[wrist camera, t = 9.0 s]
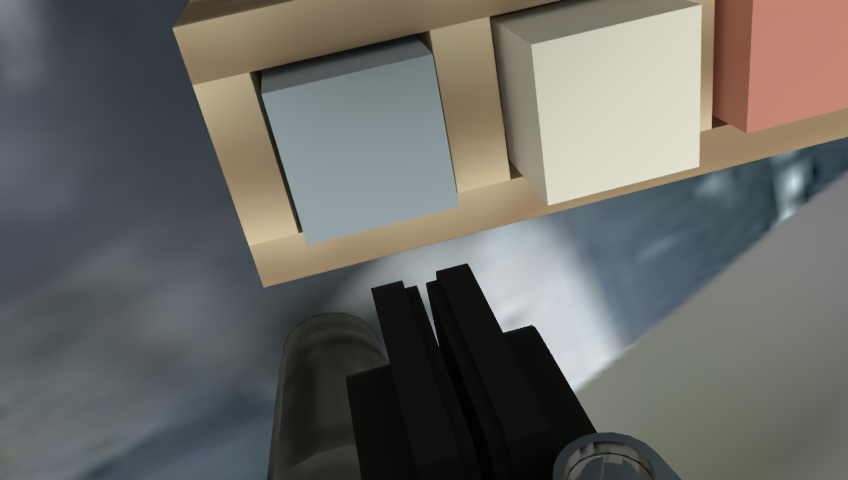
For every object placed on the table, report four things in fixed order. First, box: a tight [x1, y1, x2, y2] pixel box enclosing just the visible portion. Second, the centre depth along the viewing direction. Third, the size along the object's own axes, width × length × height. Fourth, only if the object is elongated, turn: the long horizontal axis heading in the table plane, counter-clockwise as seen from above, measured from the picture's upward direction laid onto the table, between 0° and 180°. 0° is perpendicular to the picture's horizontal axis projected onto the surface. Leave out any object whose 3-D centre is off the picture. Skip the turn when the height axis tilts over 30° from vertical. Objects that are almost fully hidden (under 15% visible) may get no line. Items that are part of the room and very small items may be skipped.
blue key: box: [261, 34, 459, 245], centre depth 23 cm, size 5×5×4 cm
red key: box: [712, 0, 848, 134], centre depth 24 cm, size 5×5×4 cm
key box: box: [173, 0, 848, 287], centre depth 26 cm, size 9×24×6 cm, turn 100°
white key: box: [491, 0, 702, 206], centre depth 22 cm, size 5×5×4 cm
